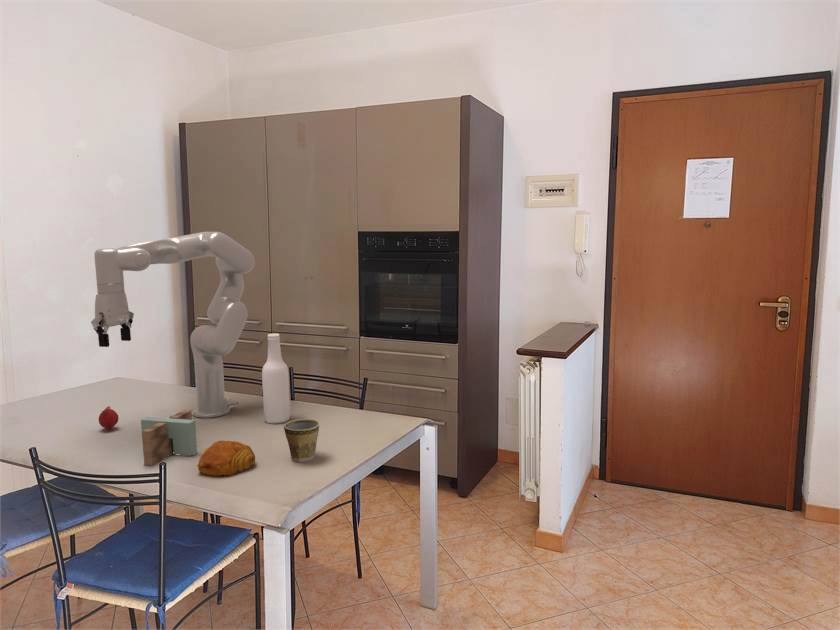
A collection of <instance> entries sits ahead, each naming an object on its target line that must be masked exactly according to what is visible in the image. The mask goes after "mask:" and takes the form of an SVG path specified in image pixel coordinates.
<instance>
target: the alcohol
mask: <svg viewBox="0 0 840 630" xmlns="http://www.w3.org/2000/svg"><path fill="white" fill-rule="evenodd" d="M280 335H281V334H279V333H268V334H267V360H266V362H265V363H264V365H263V366H262V371H261V381H262V403H263V419H264V421H265V422H266V423H267V424H271V425H273V424H274V425H276V424H278V425H279V424H283V423H287V422H289V420H290V418H291V403H290V402H291V401H290V399H291V397H290V378H289V377H290V376H289V375H290V374H289V368H288V365H287V364H286V362H284V360H283V357H282V348H281V342H280V341H281V340H280V339H281V338H280Z"/></svg>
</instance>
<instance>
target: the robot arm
mask: <svg viewBox="0 0 840 630" xmlns="http://www.w3.org/2000/svg"><path fill="white" fill-rule="evenodd" d="M207 257H215V265H216V268H217V270H218V271H219V277H220V282H219V286H218V288H217V290H216V292H215V294H214V296H213V298H212V300H211V303H210V304H209V306H208V309H207V312H206V316H207V318H208V320H209V321H210V322H211V323H213V324H216V326H215V325H214V326H213V325H207V324H204V325H200V326H197V327H196V328H194V330H193V331H192V332H191V334H190V339H189V342H190V347H191V351H192V355H193V356H192V357H193V361H194V376H195V377H194V378H195V393H196V394H195V395H196V408H195V409H194V410H193V411H192V416H194V417H196V418H200V419H201V418H203V419H204V418H205V419H207V418H209V419H211V418H217V417H221V416H225V415H227V414H229V413H230V412H231V406H236V405H239V404H240V401H239V399H238V398H237V399H233V398H231V399H230V398H229V399H227V398H226V394H225V377H224V362H223V358H222V357H223V356H226V355H229V354H230V353H231V352H232V351H233V350H234V348H235V346H236V344H237V343H238V340H239V338H240V336H241V334H242V332H243V329H245V326H246V323H247V321H248V315H249V314H248V313H249V312H248V309H247V306H246V305H245V303H244V302H242V301H240V300H241V298H242V296H243V292H244V290H245V282H244V277H243V275H245V274H249V273H250V272H251V271H253V269H254V268H255V265H256V260H255V257H254V255H253V253H252V252H251V251H250V250H249V249H247V248H246V247H244V246H243V245H242V244H240V243H239V242H237V241H236V240H234V239H233V238H232V237H230V236H228V235H227V234H225V233H224V232H220V231H201V232H195V233H191V234H185V235H179V236H174V237H169V238H168V237H167V238H163V239H158V240H151V241H145V242H139V243H135V244H128V245H124V246H120V247H118V248H98V249H96V250H95V251H94V266H95V267H94V268H95V279H96V289H97V294H96V295H95V299H94V300H95V301H94V318H93V319H92V320H91V321H90V323H91V325H92V328H93V330H94V331H95V334H97V339H98V346H99V347H100V348H101V347H103V348H108V347H110V337H109V333H108V331H109V329H110V328H111V327H116V326H120V328H119V329H120V340H121V341H123V342H127V341H128V342H130V341H131V340H132V336H131V335H132V334H131V329H132V323H133V322H134V320H133V319H134V315H135V314H134V312H132V311H131V310H129V303H128V298H127V295H126V292H125V291H126V290H125V289H126V288H125V280H124V278H125V277H124V272H126V271H128V272H142V271H145V270H146V269H148V268H149V266H150V265H156V264H157V265H158V264H159V265H160V264H164V265H167V264H168V265H169V264H180V263H183V262H189V261H192V260H196V259H202V258H207Z"/></svg>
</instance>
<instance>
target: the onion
mask: <svg viewBox="0 0 840 630" xmlns="http://www.w3.org/2000/svg"><path fill="white" fill-rule="evenodd" d="M118 422H119V415H118V412H116V410H114V409H112V408H111V406H110V405H107V406H106V407H105V409H103V410H102V411H101V412H100V414H99V416H98V423H99V425H100V427H102V428H104V429H106V430H108V431H110V429H111V430H112V429H113V427H116V425H117V424H118Z"/></svg>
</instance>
